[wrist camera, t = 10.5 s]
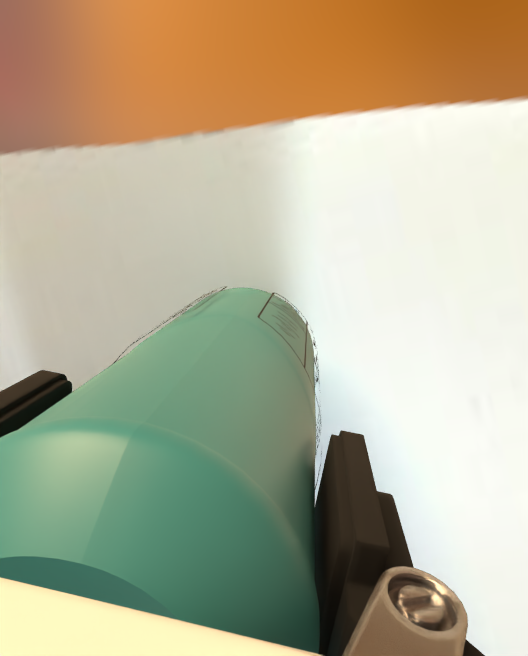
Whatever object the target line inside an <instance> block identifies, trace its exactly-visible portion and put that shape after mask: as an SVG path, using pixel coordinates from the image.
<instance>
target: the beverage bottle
mask: <svg viewBox="0 0 528 656" xmlns="http://www.w3.org/2000/svg"><path fill="white" fill-rule="evenodd" d="M221 288H222V287H221ZM225 288H226V287H225ZM225 288H223V289H225ZM223 289H222V290H223ZM222 290H221V291H219V292H217V293H214V294H212V292H211V294H212V295H210V296H208V297H205V296H206V295H205V296H204V295H203V296H204V297H205V299H203V298H202V296H201V297H200V298H202V299H203V300H202V301H201V302H199V303H198V304H196V305H195V306H193V307H192V308H190V309H189V310H188V311H186V310H187V309H186V310H185V309H184V310H185V311H186V312H185V311H184V310H183V309H182V310H183V311H184V312H185V313H183V312H182V311H181V310H180V311H181V313H182V315H180V316H179V317H178V318H176V319H175V320H173V321H172V322H170V323H169V324H167V325H166V326H165V327H163V328H162V329H160V330H159V331H157V332H156V333H154V334H153V335H152V336H150V337H149V338H147V339H146V340H144V341H143V342H142V343H140V344H139V345H138V346H137V347H135V348H134V349H133V350H132V351H131V352H130V353H128V354H127V355H126V356H124V357H123V358H121V359H120V360H118V361H117V362H116V361H115V362H114V364H113V365H111V366H110V367H108V368H107V369H105V370H104V371H102V372H101V373H99V374H98V375H97V376H95V377H94V378H92V379H91V380H89V381H88V382H86V383H85V384H84V385H82V386H81V387H79V388H78V389H76V390H75V391H73V392H72V393H71V394H69V395H68V396H66V397H65V398H63V399H62V400H60V401H59V402H58V403H56V404H55V405H53V406H52V407H50V408H49V409H47V410H46V411H45V412H43V413H42V414H40V415H39V416H37V417H36V418H34V419H33V420H31V421H30V422H29V423H27V424H26V425H24V426H23V427H21V428H20V429H18V430H17V431H14V432H11V433H9V434H7V435H5V436H3V437H1V438H0V577H1V578H5V579H9V580H13V581H18V582H22V583H26V584H30V585H34V586H38V587H43V588H47V589H51V590H55V591H59V592H64V593H68V594H72V595H76V596H81V597H85V598H89V599H93V600H97V601H102V602H106V603H110V604H114V605H118V606H123V607H127V608H131V609H135V610H139V611H144V612H148V613H152V614H156V615H160V616H165V617H169V618H173V619H177V620H181V621H185V622H189V623H193V624H197V625H201V626H206V627H210V628H214V629H218V630H222V631H226V632H230V633H234V634H238V635H242V636H246V637H251V638H255V639H259V640H263V641H267V642H271V643H275V644H279V645H283V646H287V647H291V648H296V649H300V650H304V651H308V652H312V653H316V654H318V652H319V639H320V620H319V603H318V597H317V592H316V586H315V489H316V487H315V455H316V452H317V450H316V443H317V442H316V439H318V438H317V437H319V435H318V433H317V437H316V432H317V430H316V425H317V424H316V416H315V395H316V394H315V385H316V384H315V381H316V382H318V378H317V380H316V379H314V362H315V357H314V350H313V344H312V340H311V336H310V333H309V331H308V329H307V323H308V322H307V323H306V324H305V323H304V321H303V320H302V318H301V317H300V316H299V315H298V314H299V312H300V311H299V310H298V309H297V308H296V307H295V306H294V305H293V304H292V303H291V304H292V305H293V306H294V307H295V308H296V309H297V310H298V311H299V312H298V313H297V310H294V307H293V308H292V306H290V304H289V303H286V301H283V300H282V299H280V298H278V297H277V296H275V295H274V293H272V294H270V293H268V292H265V291H262V290H258V289H252V288H232V289H227V290H223V291H222ZM212 291H213V290H212ZM215 291H216V290H215ZM276 294H277V293H276ZM208 295H209V293H208ZM281 297H282V296H281ZM200 298H199V299H200ZM283 298H284V297H283ZM196 300H198V299H196ZM196 300H195V301H196ZM199 301H200V300H199ZM287 301H288V300H287ZM192 304H193V303H192ZM189 305H190V304H189ZM189 305H188V306H189ZM188 306H187V308H188ZM190 306H192V305H190ZM190 306H189V307H190ZM184 308H185V307H184ZM178 312H179V311H178ZM178 314H179V313H178ZM176 315H177V313H176V314H174V316H175V317H176ZM177 316H178V315H177ZM170 317H171V316H170ZM303 317H304V316H303ZM172 318H173V317H172ZM170 319H171V318H170ZM170 319H169V320H170ZM164 322H165V321H164ZM166 322H167V321H166ZM162 323H163V322H162ZM163 324H164V323H163ZM160 326H161V325H160ZM157 328H158V327H157ZM154 330H155V329H154ZM152 331H153V330H152ZM152 331H151V332H152ZM149 333H150V332H149ZM149 333H148V334H149ZM312 333H313V332H312ZM146 335H147V334H146ZM146 335H145V336H146ZM143 337H144V336H143ZM143 337H142V338H143ZM139 338H140V337H139ZM139 338H138V339H139ZM313 338H314V337H313ZM140 339H141V338H140ZM140 339H139V340H140ZM137 341H138V340H137ZM137 341H136V342H137ZM315 342H316V341H315ZM134 343H135V342H134ZM134 343H132V344H134ZM132 344H131V345H132ZM131 345H130V346H131ZM314 345H316V343H314ZM315 347H316V346H315ZM316 351H317V350H316ZM124 352H125V351H124ZM124 352H123V353H124ZM123 353H122V354H123ZM317 353H318V352H317ZM122 354H121V355H122ZM121 355H120V356H121ZM120 356H119V357H120ZM119 357H118V358H119ZM118 358H117V359H118ZM316 361H317V356H316ZM317 364H318V363H317ZM315 365H316V363H315ZM316 368H317V369H318V367H316ZM316 372H318V375H319V370H318V371H316ZM315 376H316V375H315ZM316 377H317V376H316ZM319 391H320V390H319ZM316 399H317V398H316ZM319 400H320V399H319ZM317 403H318V402H317ZM318 407H319V406H318ZM320 407H321V406H320ZM319 410H320V409H319ZM319 412H320V411H319ZM318 417H319V416H318ZM320 417H321V416H320ZM320 420H321V418H320ZM318 424H319V423H318ZM320 425H321V423H320ZM320 425H319V426H320ZM321 427H322V426H321ZM317 428H318V426H317ZM318 431H320V430H318ZM319 433H320V432H319ZM320 434H321V433H320ZM319 441H320V439H319ZM318 445H319V444H318ZM317 448H318V446H317ZM321 455H322V453H321ZM320 466H321V464H320ZM319 471H320V469H319ZM318 476H319V474H318ZM317 481H318V479H317ZM316 485H317V483H316Z"/></svg>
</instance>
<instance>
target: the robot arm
mask: <svg viewBox="0 0 528 656" xmlns="http://www.w3.org/2000/svg"><path fill="white" fill-rule="evenodd" d="M71 393H72V383H71V382H70V381H67V378H66V376H65V375H64V374H60V373H55V372H50V371H45V370H41V371H39V372H37V373H35V374H33V375H31V376H29V377H27V378H25V379H24V380H22V381H20V382H18V383H16V384H14V385H12V386H10V387H8V388H7V389H5V390H3V391H1V392H0V438H1V437H3V436H5V435H7V434H9V433H11V432H14V431H17V430H18V429H20V428H21V427H23V426H24V425H26V424H27V423H29V422H30V421H31V420H33V419H34V418H36V417H37V416H39V415H40V414H42V413H43V412H45V411H46V410H47V409H49V408H50V407H52V406H53V405H55V404H56V403H58V402H59V401H60V400H62V399H63V398H65V397H66V396H68V395H69V394H71ZM315 586H316V592H317V597H318V603H319V620H320V639H319V652H318V654H316V653H312V652H308V651H304V650H300V649H296V648H291V647H287V646H283V645H279V644H275V643H271V642H267V641H263V640H259V639H255V638H251V637H246V636H242V635H238V634H234V633H230V632H226V631H222V630H218V629H214V628H210V627H206V626H201V625H197V624H193V623H189V622H185V621H181V620H177V619H173V618H169V617H165V616H160V615H156V614H152V613H148V612H144V611H139V610H135V609H131V608H127V607H123V606H118V605H114V604H110V603H106V602H102V601H97V600H93V599H89V598H85V597H81V596H76V595H72V594H68V593H64V592H59V591H55V590H51V589H47V588H43V587H38V586H34V585H30V584H26V583H22V582H18V581H13V580H9V579H5V578H1V577H0V656H485V655H483V654H482V653H481V652H480V651H479V650H477V649H476V648H475V647H474V646H473V645H472V644H470V643H469V642H468V641H467V640H466V633H467V627H468V621H467V613H466V611H465V609H464V606H463V604H462V602H461V601H460V600H459V598H458V597H457V596H456V594H455V593H454V592H453V591H452V590H451V589H450V588H449V587H448V586H447V585H445V584H444V583H443V582H442V581H440V580H439V579H437V578H436V577H434V576H432V575H431V574H429V573H426V572H424V571H421V570H419V569H416V568H414V567H413V564H412V560H411V557H410V554H409V550H408V547H407V543H406V540H405V536H404V533H403V529H402V526H401V523H400V519H399V516H398V512H397V509H396V505H395V502H394V499H393V497H392V495H391V494H387V493H382V492H378V491H377V490H376V486H375V482H374V478H373V473H372V469H371V465H370V461H369V456H368V452H367V448H366V444H365V439H364V436H363V435H361V434H356V433H351V432H346V431H340V434H339V436H337V435H331V438H330V442H329V446H328V451H327V455H326V460H325V464H324V469H323V473H322V478H321V482H320V487H319V491H318V495H317V500H316V504H315Z"/></svg>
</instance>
